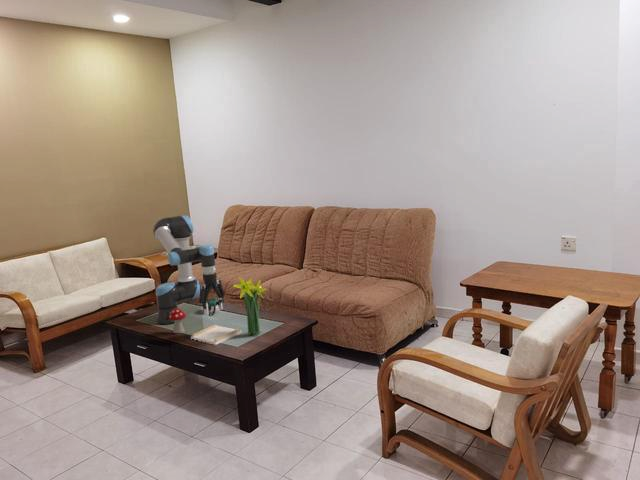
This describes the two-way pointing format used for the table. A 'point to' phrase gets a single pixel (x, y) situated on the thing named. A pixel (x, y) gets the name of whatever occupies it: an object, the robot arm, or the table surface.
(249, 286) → the daffodil flowers
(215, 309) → the lidded jar
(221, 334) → the display riser
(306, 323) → the table surface
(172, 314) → the decorative mushroom
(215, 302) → the binoculars
